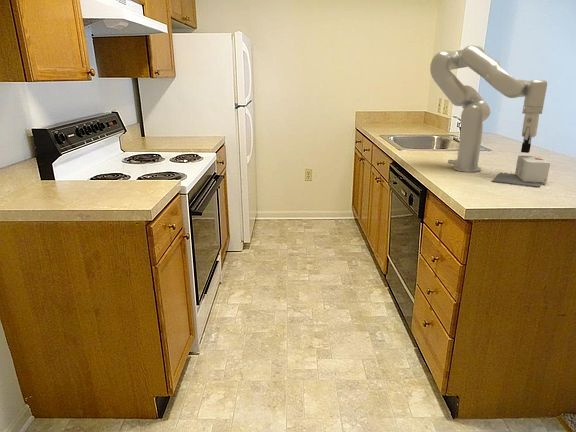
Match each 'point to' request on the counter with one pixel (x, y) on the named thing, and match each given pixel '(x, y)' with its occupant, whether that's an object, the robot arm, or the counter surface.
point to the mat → (513, 180)
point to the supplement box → (532, 169)
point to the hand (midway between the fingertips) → (525, 152)
